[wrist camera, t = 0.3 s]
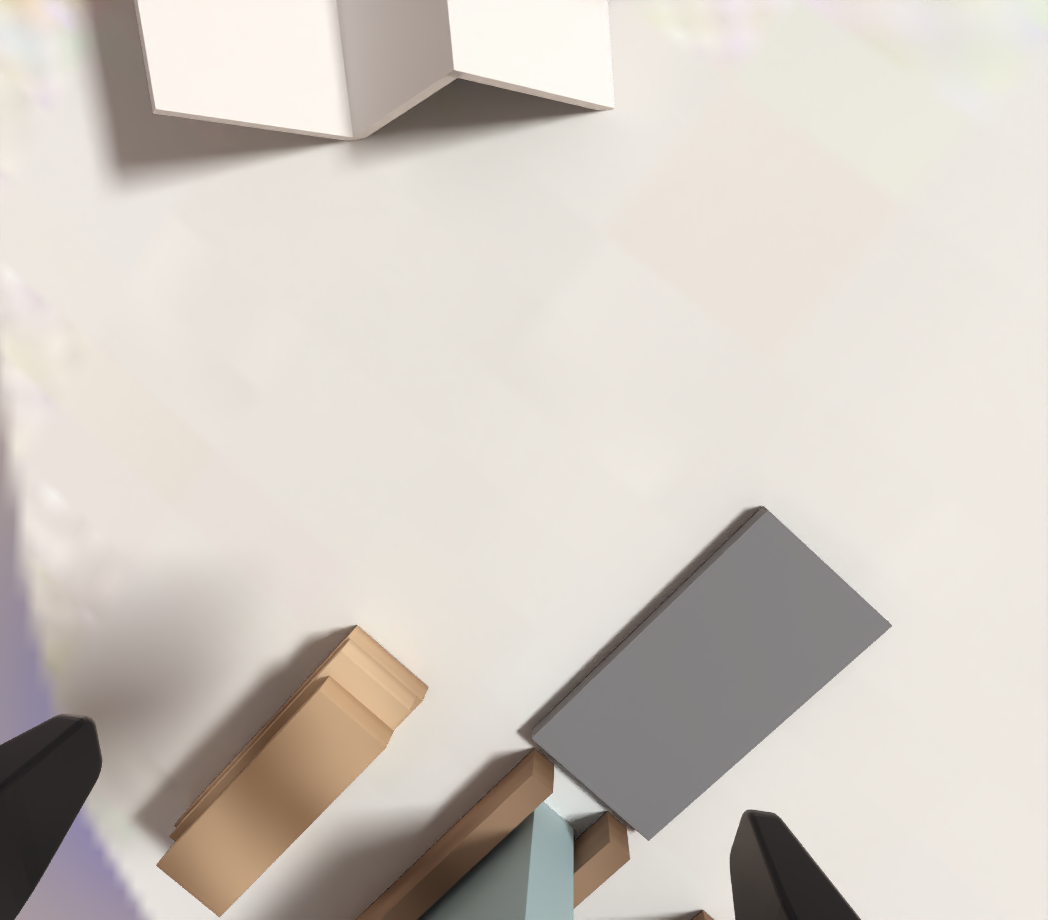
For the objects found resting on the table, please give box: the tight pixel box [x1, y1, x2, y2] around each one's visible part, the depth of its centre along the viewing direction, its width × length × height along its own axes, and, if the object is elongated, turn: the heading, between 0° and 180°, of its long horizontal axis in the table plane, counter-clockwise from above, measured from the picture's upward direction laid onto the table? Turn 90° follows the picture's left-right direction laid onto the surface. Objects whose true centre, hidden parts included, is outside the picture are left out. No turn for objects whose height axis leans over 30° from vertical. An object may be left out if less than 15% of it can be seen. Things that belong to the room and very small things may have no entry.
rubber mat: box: [531, 506, 892, 841], centre depth 24 cm, size 12×6×1 cm, turn 138°
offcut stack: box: [156, 626, 428, 917], centre depth 25 cm, size 11×4×3 cm, turn 138°
